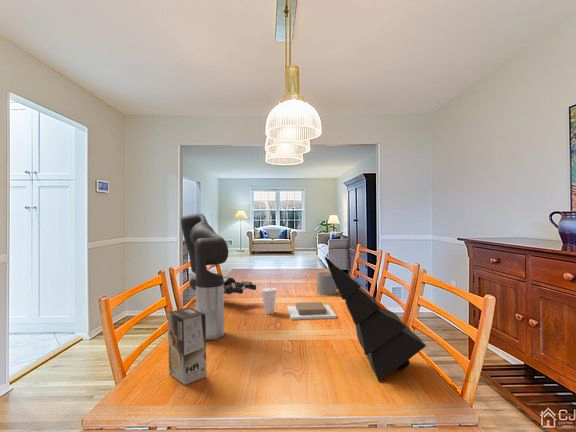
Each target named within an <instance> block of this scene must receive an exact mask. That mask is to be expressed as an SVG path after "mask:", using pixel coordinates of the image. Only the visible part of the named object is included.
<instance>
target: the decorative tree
mask: <svg viewBox="0 0 576 432" xmlns="http://www.w3.org/2000/svg"><path fill="white" fill-rule="evenodd" d="M324 260H325V262H326V264H327V267H328V271H329V272H330V273H331V275H332V278H333V280H334V282H335V285H336V287H337V292H338V294H339V296H340V298H341V300H344V302H345V303H344V304H345V305H346V309H347V311H348V313H349V315H350V316H351V319H352V322H353V324H354V325H355V331H356V337H357V339H358V342H359V344H360V347H361V348H362V350H363V352H364V356H366V359H368V362H369V364H370V367H371V370H372V371H373V374H374V375H375V377H376V380H377V381H378V382H380V381H382V379H384V378H386V377H387V376H388V375H389V374H391V373H393V372H394V371H395V370H397V369H398V370H401V371H402V370H404V369H406V368H408V366H409V365H410V359H412V358H413V357H414V356H415V355H416V354H418V353H419V352H421V350H423V349H424V348H425V347H427V345H426V344H425V342H424V341H423V340H422V339H421V338H420V337H419V336H418V335H417V334H416V333H414V332H413V331H411V330H412V329H410V327H409V326H408V325H407V324H404V323H403V322H402V320H401V319H400V318H399V316H398V315H397V314H396V313H394V312H393V311H391V310H389V309H385V308H384V307H381V306H380V305H379V304H378V301H377V300H376V298H375V297H373V296H371V294H368V293H367V292H366V291H364V290H362V289H361V288H362V286H361V285H360V284H359V283H358V282H357V281H356V280H354V278H352V277H351V276H350V275H348V274H347V273H346V272H345V271H344V270H343V269H341V268H339V267H337V266H336V265H335V263H333V262H332V261H331V260H330V259H329V258H328V257H327V256H324Z"/></svg>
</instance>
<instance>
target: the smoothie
mask: <svg viewBox="0 0 576 432" xmlns="http://www.w3.org/2000/svg"><path fill="white" fill-rule="evenodd" d="M277 293H278V292H277V288H274V287H272V279H270V278H269V287H264V288H262V289H261V294H262V299H263V300H262V301H263V307H264V308H263V309H264V313H265V314H266V315H267V314H268V315H270V314H274V313H275V304H276V297H277Z"/></svg>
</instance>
